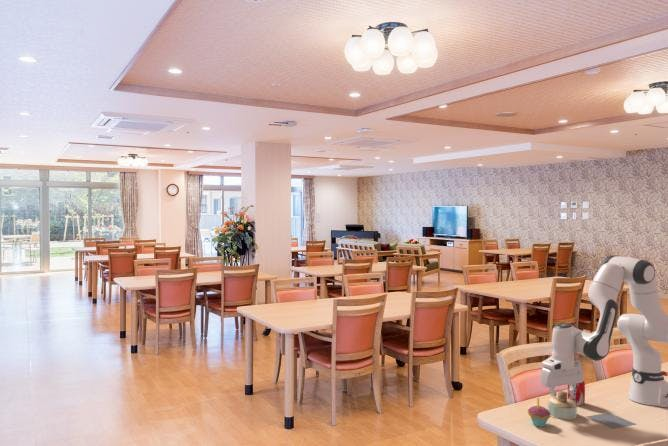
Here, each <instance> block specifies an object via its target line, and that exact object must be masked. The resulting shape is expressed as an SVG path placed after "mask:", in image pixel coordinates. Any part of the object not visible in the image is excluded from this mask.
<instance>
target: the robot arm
mask: <svg viewBox="0 0 668 446" xmlns="http://www.w3.org/2000/svg"><path fill="white" fill-rule="evenodd" d="M656 279H657V278H656V269H655V266H654V264H653V263H652V262H650V261H647V260H646V259H641V258H640V259H639V258H636V257H631V256H620V255H619V256H618V255H608V256H606V257H605V258H604V259H603V261H602V263H601V266H600V268H599V269H598V271H597V273H596V274H595V275H594V277H593V279H592V281H591V282H590V285H589V287H588V292H587V296H588V299H589V301H590V302H591V304H593V306H595V307H596V308H597V310H599V314H600V315H599V319H598V323H597V326H596V329H595V332H594V333H589V332H587V331H584V330H582V329H579V328H577V327H575V326H574V325H573V324H571V323H569V322H568V323H567V322H561V323H557V324H555V325H554V326H553V329H552V332H551V333H552V334H551V346H552V351H551V355H550V357H548V358H546V359H545V360H543V361H542V362H541V366H542V369H541V373H540V384H541V385H542V386H544V387H546V388H548V390H549V391H550V396H551V397H557V395H558V391H557V392H556V391H555V388H556V387H559V386H560V387H561V386H568V384H570V385H571V386H570V389H568V388H567V394H568V393H569V394H574V389H575V387H576V383H582V382H583V380H584V369H583V363H582V362H581V360H575V354H579V355H582V356H585V357H586V358H589V359H591V360H593V361H595V362H596V361H598V362H599V361H601V360H604V359H605V358H606V357H607V356H608V355H609V353H610V348H611V347H610V346H611V338H612V335H613V331H614V327H615V324H616V326H617V330H618V331H619V333H620V334H621V335H623V337H624V338H625V339H626V340H627V341H628V343H629V345H630V347H631V350H632V361H633V362H632V363H633V364H632V365H633V367H631V368H632V369H631V376H632V377H631V378H630V384H629V390H628V391H627V396H628V399H629V400H631V401H632V402H635V403H638V404H642V405H646V406H656V407H661V408H668V381H666V379H665V377H668V371H664V370H663V371H662V357H663V356H662V354H661V352H660V351H659V350H658V349H656V348H654V347H653V346H652V344H650V343H649V341H651V342H658V343H661V344H662V343H664V344H665V343H668V314H667V313H666V311H665V310H664V309H663V307H662V305H661V302H660V299H659V298H660V297H659V296H660V295H659V292H658V291H659V290H658V284H657V280H656ZM623 282H624V283H628V291H629V299H630V300H629V301H630V305H631V307H632V308H633V309H635V310H636V311H637V312H639V313H640V314H639V313H622V314H621V315H620V316H619V317H618V313H619V312H618V311H619V305H618V304H617V302H618V301H617V299H618V295H619V294H620V291H621V288H622V285H623ZM617 317H618V319H617ZM616 320H617V321H616ZM584 381H585V380H584Z"/></svg>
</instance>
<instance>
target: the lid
mask: <svg viewBox="0 0 668 446" xmlns="http://www.w3.org/2000/svg"><path fill="white" fill-rule="evenodd" d="M549 400H550V404H552V405H554V406H556V407H561V408H574V407H575V401H573V400H571V399H568V391H567V392H566V391H563V390H559V391H557V396H555V397H553V396H551V397H550V398H549Z"/></svg>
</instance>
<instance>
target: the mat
mask: <svg viewBox="0 0 668 446" xmlns="http://www.w3.org/2000/svg"><path fill="white" fill-rule="evenodd" d="M585 417H586V418H588V419H590V420H592V421H594V422H597V423H599V424H601V425H603V426H605V427H608V428H610V429H612V430H614V429H618V428H624V427H629V426H630V427H631V426H635V425H637V423H634V422H633V421H630V420H628V419H625V418H622V416H621V417H620V416H618V415H616V414H613V413H611V412H606V413H605V412H604V413H598V414H593V415H587V416H585Z"/></svg>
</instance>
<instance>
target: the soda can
mask: <svg viewBox="0 0 668 446" xmlns="http://www.w3.org/2000/svg"><path fill="white" fill-rule="evenodd" d="M570 386H571V385H570V384H568V385H567V390H568V389H570ZM567 398H568V399H571V400H573V401H575V404H576V406H577V407H580V406H581V407H582V406H584V405H585V402H586V383H585V380H583V382H582V383H576V387H575V389H574V394H569V393H568V392H567Z"/></svg>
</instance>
